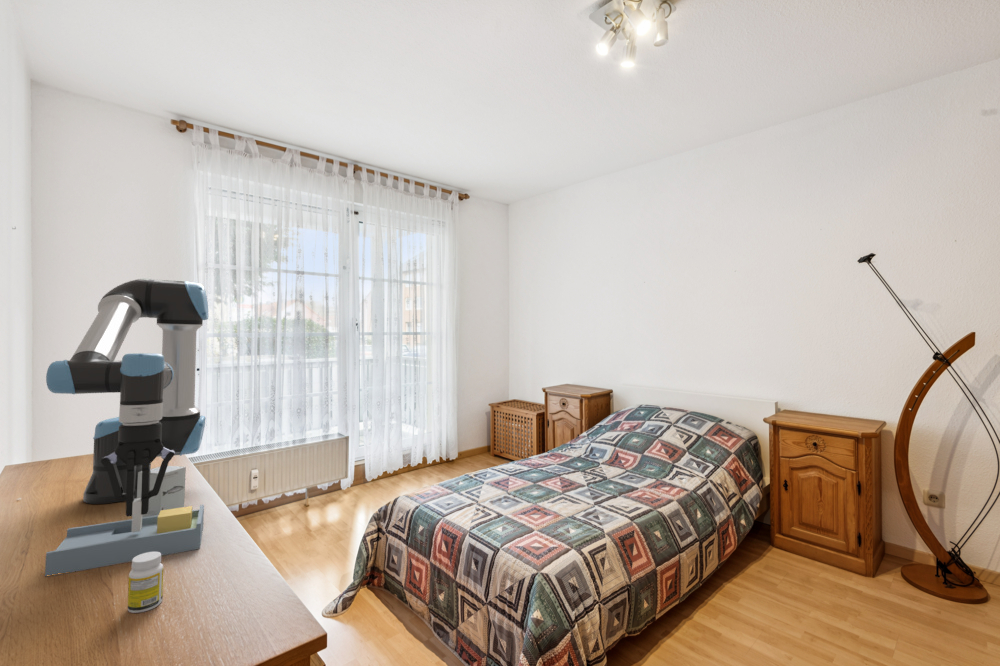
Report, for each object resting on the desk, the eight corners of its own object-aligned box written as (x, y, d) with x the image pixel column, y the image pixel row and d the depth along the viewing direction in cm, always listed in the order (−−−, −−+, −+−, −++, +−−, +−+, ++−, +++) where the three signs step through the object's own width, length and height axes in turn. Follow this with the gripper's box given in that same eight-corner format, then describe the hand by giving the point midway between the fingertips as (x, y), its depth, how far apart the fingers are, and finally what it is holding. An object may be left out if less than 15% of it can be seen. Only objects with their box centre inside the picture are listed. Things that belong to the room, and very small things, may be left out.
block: (160, 528, 102) (160, 510, 102) (191, 523, 105) (192, 505, 105) (156, 536, 98) (157, 517, 98) (190, 530, 101) (190, 512, 101)
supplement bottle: (140, 598, 79) (142, 550, 79) (168, 597, 79) (170, 549, 80) (119, 614, 74) (122, 563, 74) (149, 613, 75) (151, 562, 75)
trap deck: (67, 549, 97) (68, 523, 97) (203, 526, 110) (204, 504, 110) (44, 577, 86) (46, 548, 86) (199, 548, 98) (200, 523, 99)
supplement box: (158, 524, 111) (160, 473, 112) (134, 522, 113) (136, 471, 113) (185, 514, 118) (186, 466, 119) (162, 511, 120) (163, 464, 120)
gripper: (98, 427, 92) (93, 542, 92) (175, 422, 99) (171, 529, 99) (106, 422, 99) (101, 529, 98) (178, 418, 106) (174, 518, 105)
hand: (136, 529), depth 98 cm, fingers closed
